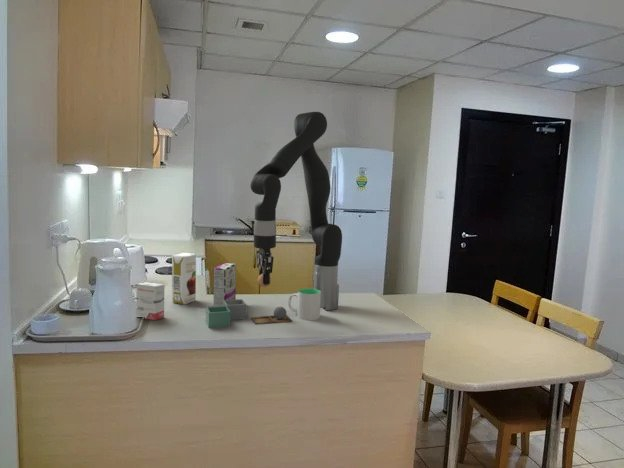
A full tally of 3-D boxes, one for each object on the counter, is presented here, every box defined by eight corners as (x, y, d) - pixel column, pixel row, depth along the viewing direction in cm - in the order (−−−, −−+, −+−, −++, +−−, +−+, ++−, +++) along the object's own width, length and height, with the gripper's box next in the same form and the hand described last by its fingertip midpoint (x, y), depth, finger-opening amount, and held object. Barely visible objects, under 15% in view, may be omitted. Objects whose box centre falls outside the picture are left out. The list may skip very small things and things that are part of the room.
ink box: (165, 316, 168) (165, 283, 167) (156, 320, 164) (156, 286, 162) (144, 313, 171) (144, 281, 170) (135, 317, 166) (135, 284, 165)
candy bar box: (223, 303, 188) (224, 262, 186) (235, 304, 187) (236, 263, 185) (212, 311, 177) (213, 267, 175) (225, 312, 176) (225, 268, 174)
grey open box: (242, 315, 174) (242, 299, 173) (246, 320, 167) (246, 304, 166) (222, 316, 171) (223, 300, 170) (226, 322, 165) (226, 305, 164)
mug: (283, 319, 170) (284, 291, 169) (291, 313, 178) (292, 286, 177) (315, 324, 167) (316, 295, 165) (322, 317, 174) (323, 290, 173)
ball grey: (284, 317, 170) (284, 304, 169) (287, 320, 166) (288, 308, 165) (271, 317, 168) (272, 305, 168) (275, 321, 164) (275, 309, 164)
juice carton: (169, 302, 186) (169, 254, 184) (182, 297, 194) (183, 251, 192) (185, 305, 183) (185, 256, 181) (198, 300, 191) (198, 253, 189)
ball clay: (268, 284, 166) (269, 271, 166) (272, 287, 162) (272, 274, 162) (256, 285, 165) (256, 272, 164) (259, 288, 161) (259, 275, 160)
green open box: (226, 322, 164) (226, 305, 163) (230, 329, 158) (230, 311, 157) (205, 324, 162) (205, 307, 161) (208, 330, 155) (208, 312, 155)
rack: (286, 318, 172) (286, 314, 171) (292, 324, 165) (292, 320, 165) (250, 321, 167) (250, 316, 167) (255, 327, 161) (255, 322, 160)
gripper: (281, 236, 156) (280, 287, 158) (270, 230, 169) (269, 277, 171) (259, 236, 153) (258, 288, 155) (249, 230, 166) (248, 278, 169)
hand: (264, 282), depth 163 cm, fingers closed on ball clay, 4 cm apart
